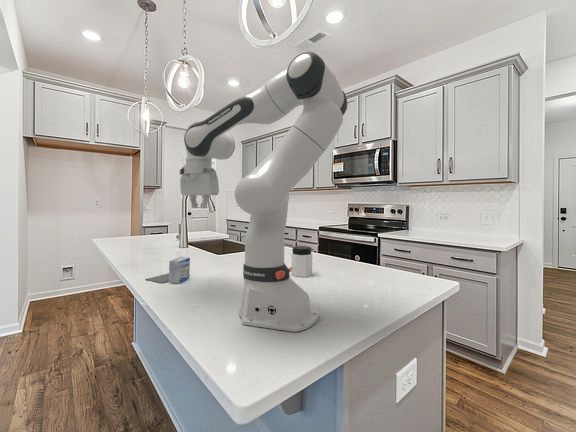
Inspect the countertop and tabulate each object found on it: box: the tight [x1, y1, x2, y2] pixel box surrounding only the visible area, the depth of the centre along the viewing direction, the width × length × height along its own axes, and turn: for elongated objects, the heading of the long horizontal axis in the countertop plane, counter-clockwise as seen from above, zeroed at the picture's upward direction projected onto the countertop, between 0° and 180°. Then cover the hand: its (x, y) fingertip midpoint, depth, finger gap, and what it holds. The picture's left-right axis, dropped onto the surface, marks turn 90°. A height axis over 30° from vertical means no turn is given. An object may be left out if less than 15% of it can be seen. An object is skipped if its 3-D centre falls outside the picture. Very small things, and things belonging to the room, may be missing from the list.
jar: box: [291, 245, 313, 278], centre depth 129 cm, size 9×8×12 cm
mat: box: [145, 272, 191, 284], centre depth 122 cm, size 10×14×1 cm
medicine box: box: [168, 256, 191, 284], centre depth 118 cm, size 8×4×9 cm, turn 169°
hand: (199, 208), depth 107 cm, fingers open, 5 cm apart
